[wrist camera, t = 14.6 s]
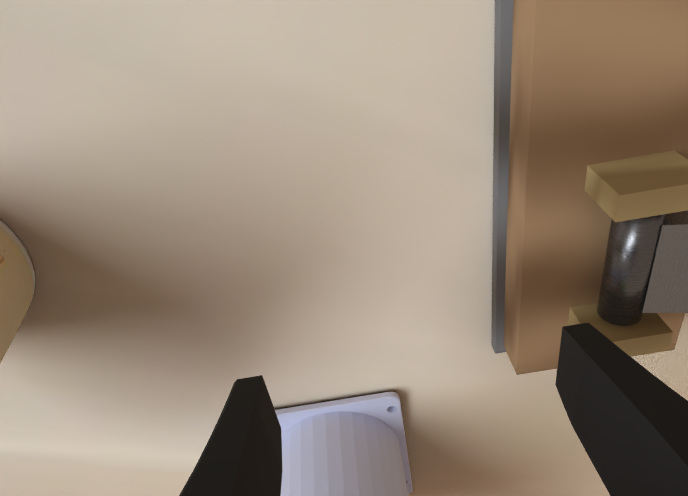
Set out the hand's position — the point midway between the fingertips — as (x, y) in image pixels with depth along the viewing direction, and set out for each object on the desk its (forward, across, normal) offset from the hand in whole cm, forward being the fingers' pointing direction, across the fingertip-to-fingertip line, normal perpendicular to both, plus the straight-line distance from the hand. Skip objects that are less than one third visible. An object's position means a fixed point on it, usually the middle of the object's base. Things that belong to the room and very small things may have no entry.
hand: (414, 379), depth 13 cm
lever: (+6, -9, +3) cm, 11 cm away
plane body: (+10, -9, -1) cm, 13 cm away
